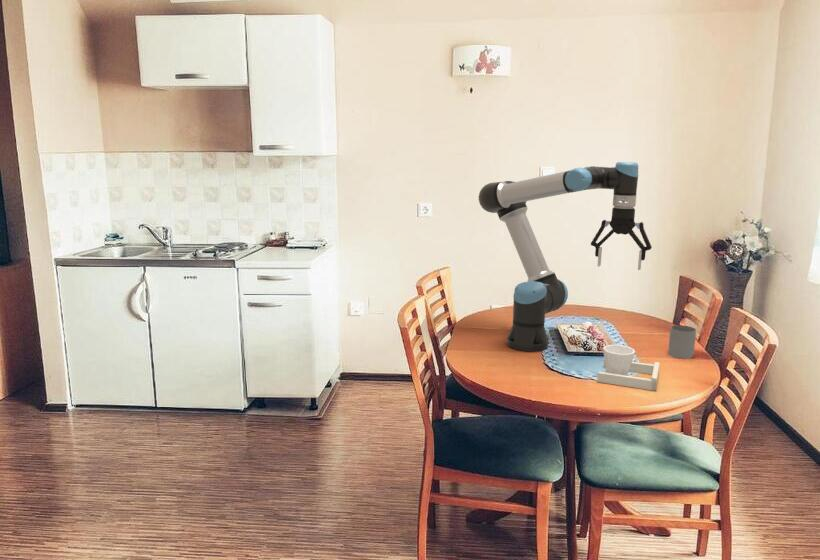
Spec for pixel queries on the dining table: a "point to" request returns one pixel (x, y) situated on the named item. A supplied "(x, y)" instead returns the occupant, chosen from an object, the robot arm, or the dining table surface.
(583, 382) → the dining table surface
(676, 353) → the cup
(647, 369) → the bracket
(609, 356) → the cup
